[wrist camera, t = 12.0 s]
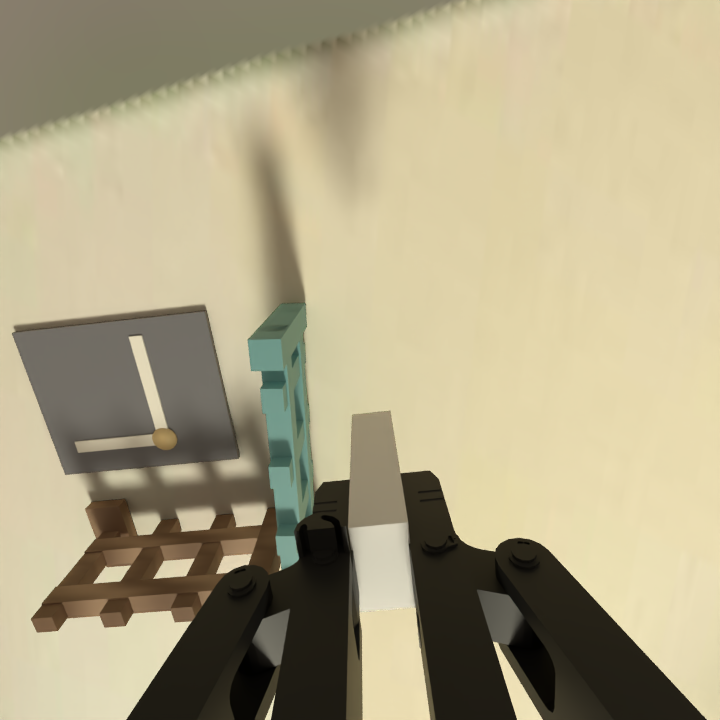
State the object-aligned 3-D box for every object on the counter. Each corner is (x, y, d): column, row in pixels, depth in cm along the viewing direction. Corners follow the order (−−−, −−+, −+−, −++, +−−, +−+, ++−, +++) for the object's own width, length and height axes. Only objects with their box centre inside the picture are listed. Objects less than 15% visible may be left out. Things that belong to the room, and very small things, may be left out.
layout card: (68, 472, 30) (64, 475, 30) (15, 331, 27) (10, 333, 27) (239, 456, 30) (238, 459, 29) (206, 310, 26) (203, 311, 26)
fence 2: (322, 528, 31) (309, 625, 24) (297, 528, 31) (275, 625, 24) (308, 303, 26) (285, 339, 18) (278, 303, 26) (242, 339, 19)
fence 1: (112, 558, 33) (34, 666, 25) (92, 501, 31) (1, 597, 23) (294, 543, 32) (271, 649, 24) (282, 484, 30) (254, 578, 23)
